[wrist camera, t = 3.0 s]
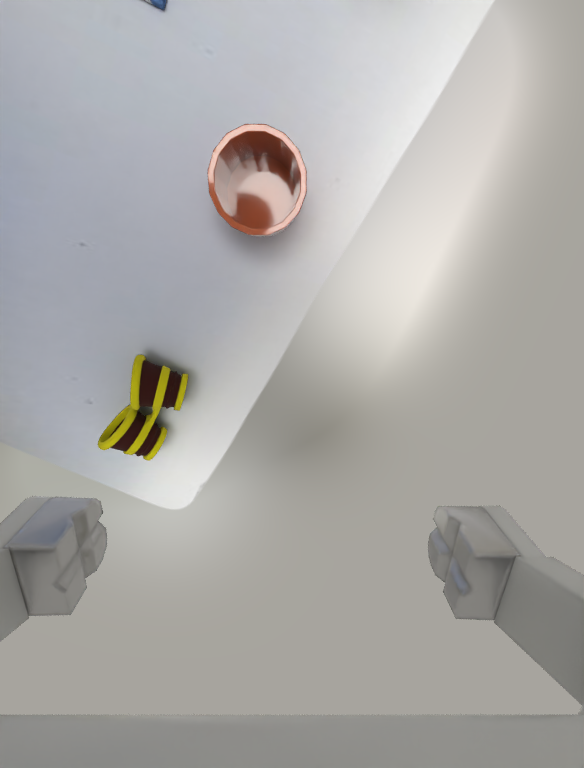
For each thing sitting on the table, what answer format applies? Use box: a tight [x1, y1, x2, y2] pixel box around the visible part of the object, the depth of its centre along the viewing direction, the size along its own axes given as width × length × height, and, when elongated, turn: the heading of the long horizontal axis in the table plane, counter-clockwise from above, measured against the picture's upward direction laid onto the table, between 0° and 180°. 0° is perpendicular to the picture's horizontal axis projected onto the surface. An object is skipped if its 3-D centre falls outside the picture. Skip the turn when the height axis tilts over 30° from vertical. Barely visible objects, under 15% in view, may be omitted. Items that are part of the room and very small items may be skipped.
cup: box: [208, 124, 307, 237], centre depth 26 cm, size 6×6×7 cm
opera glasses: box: [98, 355, 188, 461], centre depth 34 cm, size 10×5×5 cm, turn 150°
